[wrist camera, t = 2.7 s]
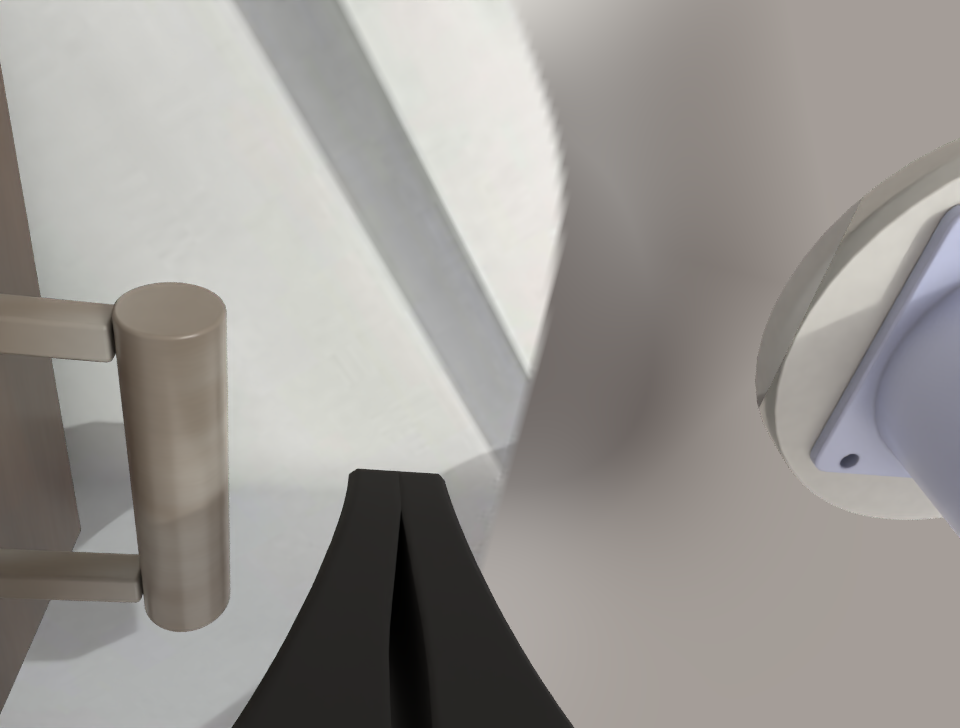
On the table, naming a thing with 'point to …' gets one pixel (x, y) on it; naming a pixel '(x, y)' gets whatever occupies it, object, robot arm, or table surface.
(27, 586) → the drawer
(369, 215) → the table surface
